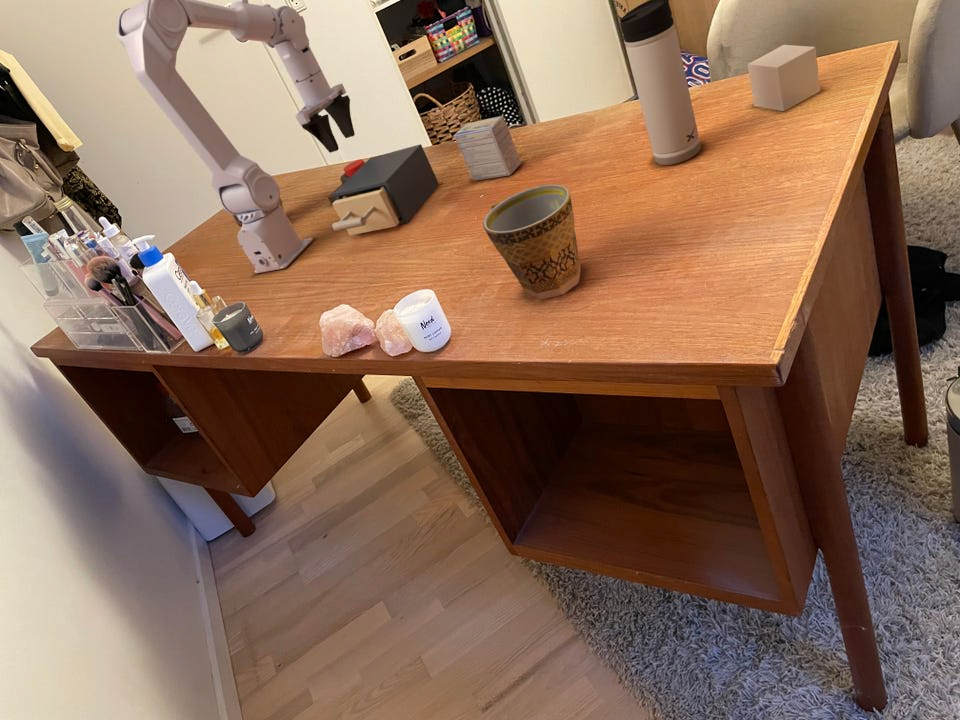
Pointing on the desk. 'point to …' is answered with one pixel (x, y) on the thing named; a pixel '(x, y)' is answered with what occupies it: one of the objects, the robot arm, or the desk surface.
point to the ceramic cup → (537, 239)
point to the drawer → (366, 211)
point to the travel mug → (661, 81)
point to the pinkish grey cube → (784, 77)
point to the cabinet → (396, 179)
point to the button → (353, 167)
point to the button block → (343, 180)
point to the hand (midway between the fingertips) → (342, 143)
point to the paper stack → (488, 148)
